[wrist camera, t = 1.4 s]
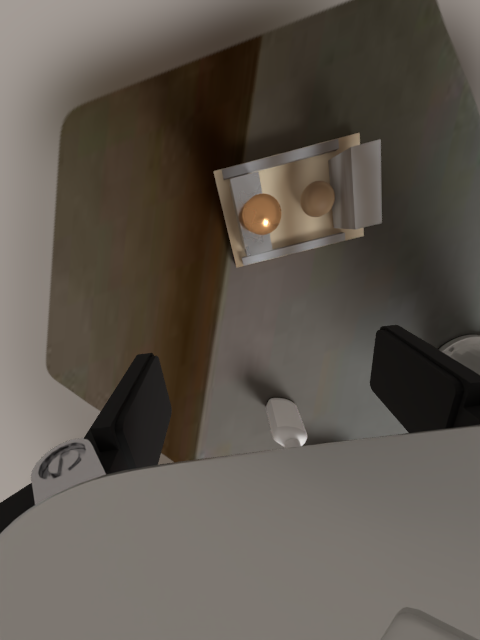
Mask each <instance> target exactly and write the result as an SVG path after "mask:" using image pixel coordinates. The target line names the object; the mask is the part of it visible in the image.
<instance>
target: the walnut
mask: <svg viewBox="0 0 480 640" xmlns="http://www.w3.org/2000/svg"><path fill="white" fill-rule="evenodd" d="M334 200H335V193H334V190H333V188H332V186H331V185H330V184H329V183H327V182H325V181H315V182H312V183H310V184H309V185H308V186H307V187H306V188H305V189H304V191H303V192H302V195H301V199H300V203H301V208H302V210H303V211H304V212H305V213H306V214H307V215H308V216H311V217H320V216H323V215H325V214H326V213H327V212H329V210H330V209H331V208H332V206H333V204H334Z"/></svg>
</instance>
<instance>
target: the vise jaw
mask: <svg viewBox="0 0 480 640" xmlns="http://www.w3.org/2000/svg"><path fill="white" fill-rule="evenodd" d="M229 187H230V191H231V196H232V200H233V205H234V209H235V213H236V218H237V222H238V227H239V231H240V236H241V240H242V245H243V249H244V252H245V254H246V255H247V256H251V255H255V254H259V253H263V252H267V251H271V250H273V249H272V244H271V238H270V233H271V232H273V231H274V230H275V229H276V228H277V226H278V225H279V223H280V220H281V207H280V204H279V202H278V201H277V200H276V199H275V198H274V197H273V196H271V195H269V194H264V193H263V194H262V188H261V183H260V177H259V171H258V172H254V173H251V174H247V175H243V176H239V177H235V178H232V179H230V184H229Z"/></svg>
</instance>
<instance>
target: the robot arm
mask: <svg viewBox="0 0 480 640" xmlns="http://www.w3.org/2000/svg"><path fill="white" fill-rule="evenodd" d="M370 386H371V389H372V391H373V392H374V393H375V394H376V395H377V396H378V398H379V399H380V400H381V401H382V402H383V403H384V405H385V406H386V407H387V408H388V409H389V410H390V411H391V413H392V414H393V415H394V416H395V417H396V418H397V420H398V421H399V422H400V423H401V424H402V425H403V426H404V428H405V429H406V430H407V431H408V432H409V433H406V434H398V435H389V436H381V437H372V438H364V439H356V440H347V441H339V442H331V443H323V444H315V445H307V446H299V447H291V448H283V449H275V450H267V451H259V452H252V453H244V454H236V455H229V456H221V457H213V458H205V459H198V460H190V461H182V462H175V463H167V464H160V465H158V462H159V458H160V454H161V451H162V447H163V443H164V439H165V436H166V432H167V428H168V425H169V421H170V417H171V404H170V400H169V396H168V393H167V389H166V385H165V381H164V377H163V373H162V369H161V365H160V362H159V358H158V356H154V355H153V354H152V353H148V354H139V355H137V356H136V358H135V359H134V361H133V362H132V364H131V365H130V367H129V369H128V370H127V372H126V373H125V375H124V376H123V378H122V380H121V381H120V383H119V384H118V386H117V387H116V389H115V390H114V392H113V394H112V395H111V397H110V398H109V400H108V401H107V403H106V404H105V406H104V408H103V409H102V411H101V412H100V414H99V415H98V417H97V419H96V420H95V422H94V423H93V425H92V426H91V428H90V429H89V431H88V433H87V434H86V436H85V437H84V439H83V438H78V439H73V440H69V441H66V442H64V443H62V444H59V445H58V446H56V447H54V448H53V449H51V450H50V451H49V452H47V453H46V454H45V455H44V456H43V457H42V458H41V459H40V460H39V461H38V462H37V463H36V465H35V467H34V469H33V470H32V474H31V481H32V483H31V484H29V485H27V486H26V487H24V488H23V489H21V490H20V491H18V492H17V493H15V494H14V495H12V496H10V497H9V498H7V499H6V500H4V501H3V502H1V503H0V640H480V335H475V334H474V335H465V336H461V337H458V338H456V339H453V340H451V341H450V342H448V343H446V344H445V345H443V346H442V347H441V348H440V349H439V350H438V349H436V348H435V347H433V346H431V345H430V344H428V343H426V342H425V341H423V340H422V339H420V338H418V337H417V336H415V335H413V334H412V333H410V332H408V331H407V330H405V329H403V328H402V327H400V326H398V325H390V326H382V327H381V328H380V330H378V331H377V332H376V338H375V346H374V354H373V362H372V370H371V379H370Z"/></svg>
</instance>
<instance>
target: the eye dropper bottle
mask: <svg viewBox="0 0 480 640" xmlns="http://www.w3.org/2000/svg"><path fill="white" fill-rule="evenodd" d="M266 411H267V416H268V420H269V425H270V430H271V434H272V437H273V439H274V440H275V441H276V442H277V443H279V444H281V445H282V446H285V448H291V447H299V446H302V445H304V443H305V442H306V440H307V433H306V430H305V427H304V424H303V422H302V419H301V416H300V414H299V411H298V408H297V406H296V404H295V403H293V402H292V401H290V400H287V399H284V398H271V399H269V401H268V403H267V405H266Z"/></svg>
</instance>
